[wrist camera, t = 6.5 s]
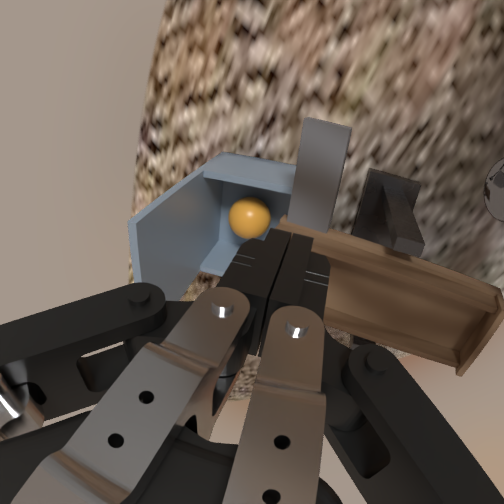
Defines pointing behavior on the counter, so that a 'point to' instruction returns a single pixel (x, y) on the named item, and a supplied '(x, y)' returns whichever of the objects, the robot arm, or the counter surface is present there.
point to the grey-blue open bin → (203, 220)
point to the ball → (249, 217)
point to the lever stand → (388, 219)
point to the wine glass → (495, 191)
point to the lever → (385, 270)
